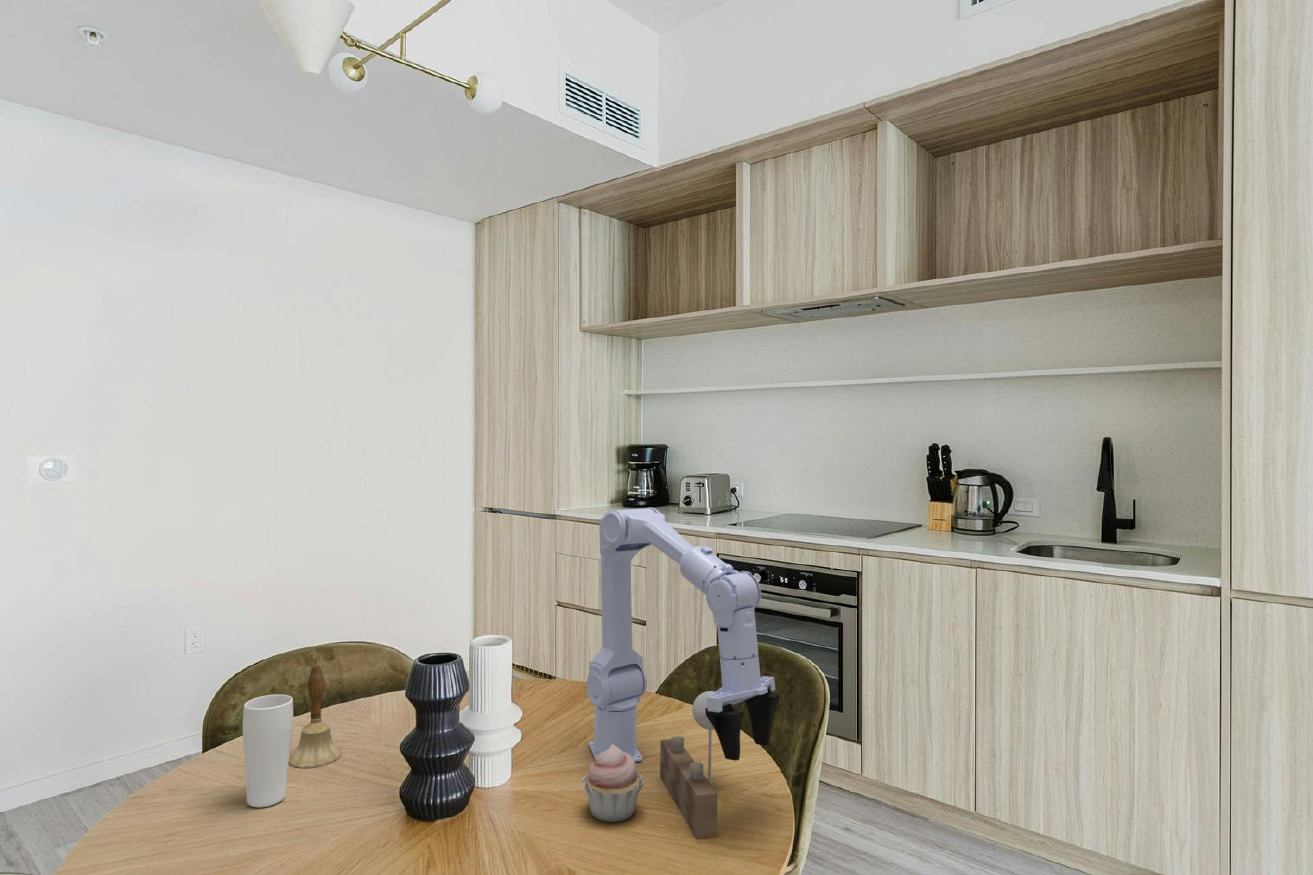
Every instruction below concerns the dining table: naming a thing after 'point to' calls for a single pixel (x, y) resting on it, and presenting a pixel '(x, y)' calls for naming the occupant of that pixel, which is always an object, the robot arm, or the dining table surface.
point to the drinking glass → (267, 748)
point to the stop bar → (689, 787)
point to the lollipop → (704, 721)
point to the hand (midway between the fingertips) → (747, 751)
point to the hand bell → (315, 731)
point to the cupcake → (612, 785)
